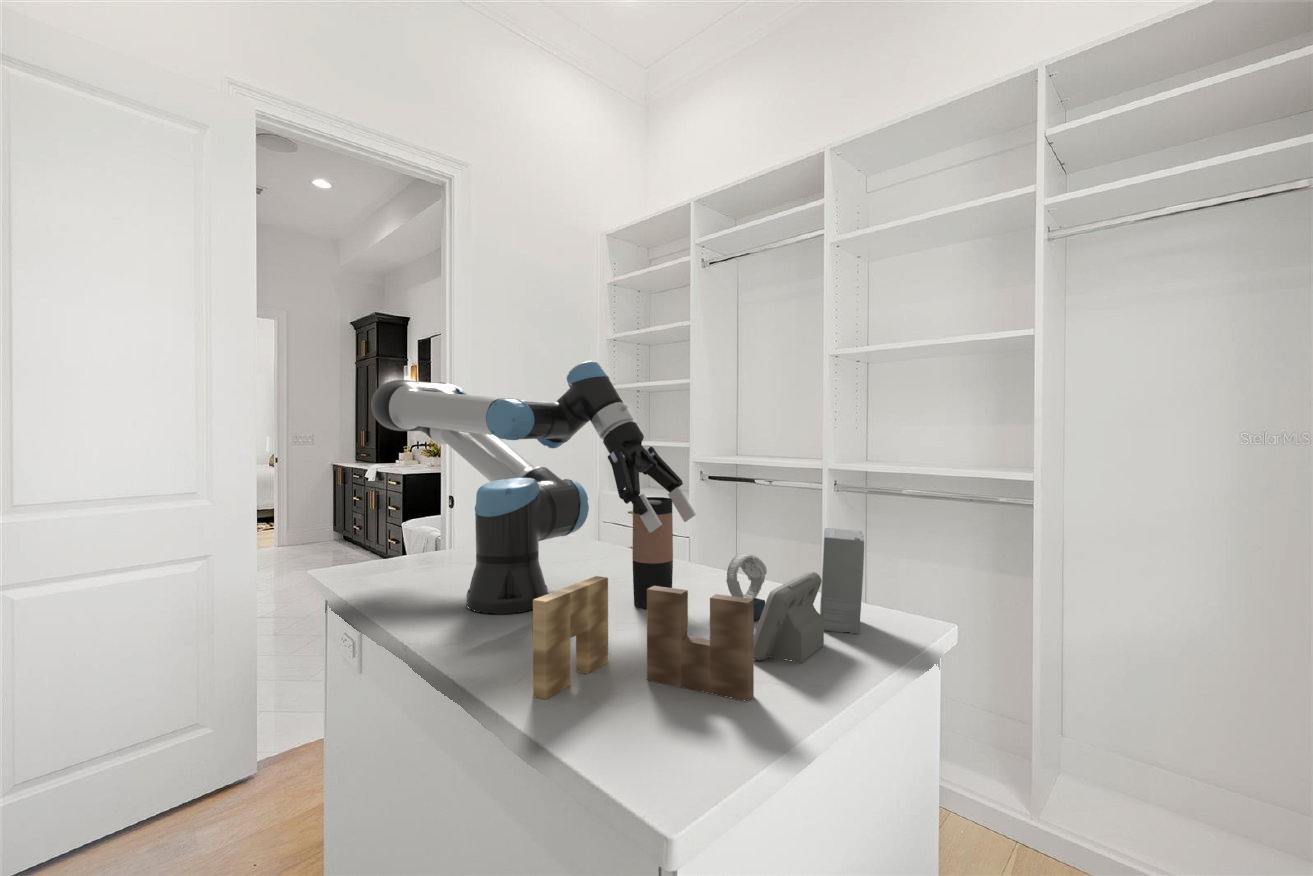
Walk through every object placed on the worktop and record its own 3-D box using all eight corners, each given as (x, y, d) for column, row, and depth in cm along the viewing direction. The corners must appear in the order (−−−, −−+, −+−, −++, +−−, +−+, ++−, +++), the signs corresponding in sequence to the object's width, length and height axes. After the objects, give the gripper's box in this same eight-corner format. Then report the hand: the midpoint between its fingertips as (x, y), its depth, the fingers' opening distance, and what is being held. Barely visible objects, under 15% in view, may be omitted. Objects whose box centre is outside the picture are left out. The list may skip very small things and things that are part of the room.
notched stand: (647, 679, 81) (646, 589, 80) (654, 674, 82) (654, 585, 82) (748, 701, 74) (748, 603, 74) (753, 695, 76) (753, 599, 76)
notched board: (546, 699, 75) (545, 601, 74) (533, 696, 76) (532, 599, 75) (608, 661, 87) (607, 577, 87) (596, 659, 88) (596, 576, 88)
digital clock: (794, 630, 101) (794, 566, 100) (844, 644, 94) (844, 575, 94) (730, 655, 89) (730, 583, 89) (782, 673, 83) (782, 595, 83)
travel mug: (648, 597, 121) (648, 496, 121) (680, 603, 116) (680, 498, 116) (624, 606, 114) (624, 499, 114) (657, 613, 110) (657, 502, 110)
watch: (771, 615, 109) (771, 553, 108) (743, 625, 103) (743, 560, 103) (746, 609, 113) (746, 549, 112) (718, 618, 107) (718, 555, 107)
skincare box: (819, 616, 108) (819, 527, 108) (862, 620, 106) (862, 529, 106) (819, 631, 100) (819, 535, 100) (865, 635, 98) (865, 537, 98)
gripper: (593, 419, 108) (654, 522, 102) (662, 419, 129) (716, 505, 123) (566, 443, 111) (624, 544, 105) (638, 440, 132) (689, 524, 127)
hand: (674, 523), depth 114 cm, fingers open, 13 cm apart
